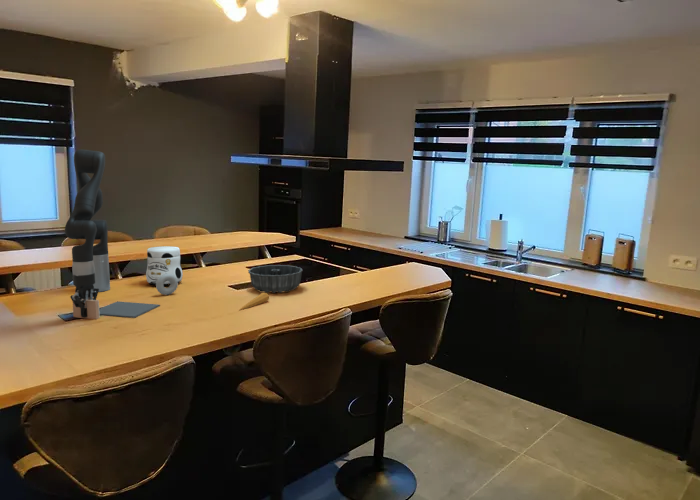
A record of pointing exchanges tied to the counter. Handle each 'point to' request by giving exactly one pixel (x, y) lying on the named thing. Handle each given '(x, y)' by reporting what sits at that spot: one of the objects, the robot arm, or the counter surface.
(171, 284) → the donut
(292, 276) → the bundt pan
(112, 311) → the mat
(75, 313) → the tile
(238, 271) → the counter surface
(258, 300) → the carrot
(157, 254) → the milk container
